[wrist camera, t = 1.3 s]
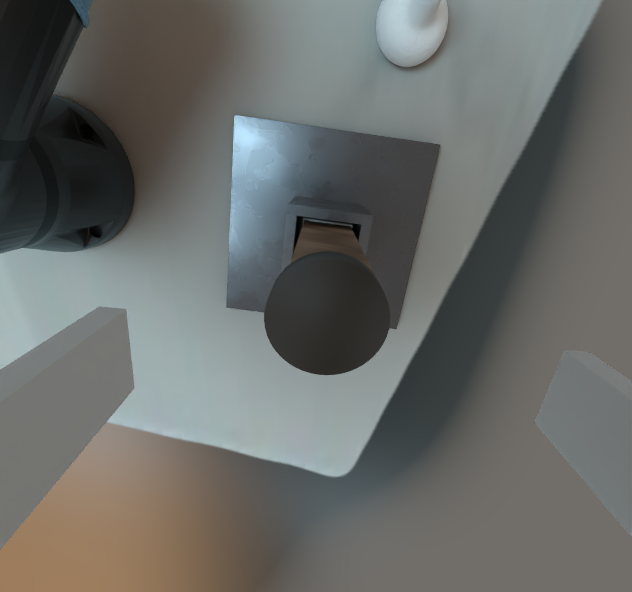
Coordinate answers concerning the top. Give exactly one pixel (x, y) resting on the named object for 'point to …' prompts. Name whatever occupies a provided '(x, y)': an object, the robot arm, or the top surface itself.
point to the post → (327, 302)
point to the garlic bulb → (411, 29)
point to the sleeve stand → (322, 201)
